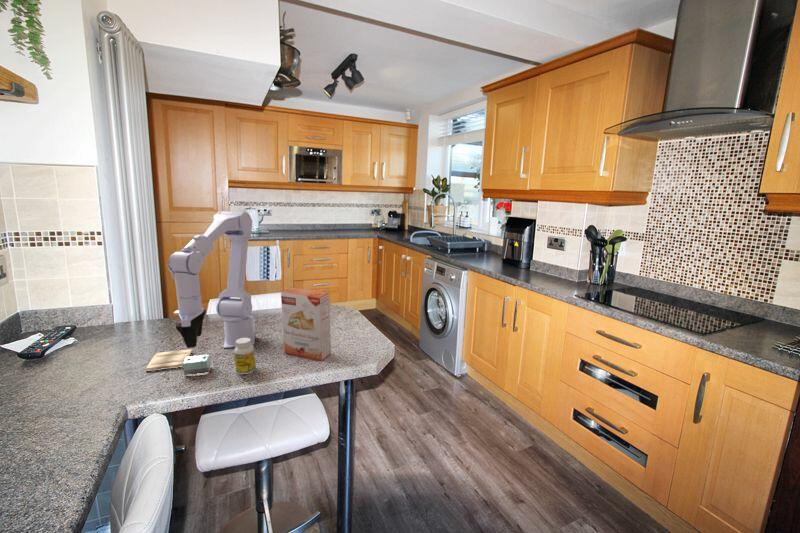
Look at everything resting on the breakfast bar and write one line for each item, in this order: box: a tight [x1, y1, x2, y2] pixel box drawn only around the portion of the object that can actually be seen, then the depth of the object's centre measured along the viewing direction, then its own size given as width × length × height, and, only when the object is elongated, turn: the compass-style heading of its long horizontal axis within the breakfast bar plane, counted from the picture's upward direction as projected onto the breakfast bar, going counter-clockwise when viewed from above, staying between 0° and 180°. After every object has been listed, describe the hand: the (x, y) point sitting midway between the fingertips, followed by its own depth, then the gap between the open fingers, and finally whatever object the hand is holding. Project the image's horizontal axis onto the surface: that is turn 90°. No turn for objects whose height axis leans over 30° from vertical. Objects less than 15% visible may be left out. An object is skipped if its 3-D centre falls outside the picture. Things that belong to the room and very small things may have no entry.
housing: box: [183, 353, 212, 376], centre depth 108 cm, size 6×4×4 cm
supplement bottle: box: [233, 338, 257, 375], centre depth 109 cm, size 5×5×10 cm
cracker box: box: [280, 287, 332, 362], centre depth 119 cm, size 14×6×21 cm, turn 70°
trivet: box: [145, 348, 193, 372], centre depth 114 cm, size 10×10×1 cm
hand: (194, 341), depth 107 cm, fingers open, 7 cm apart
